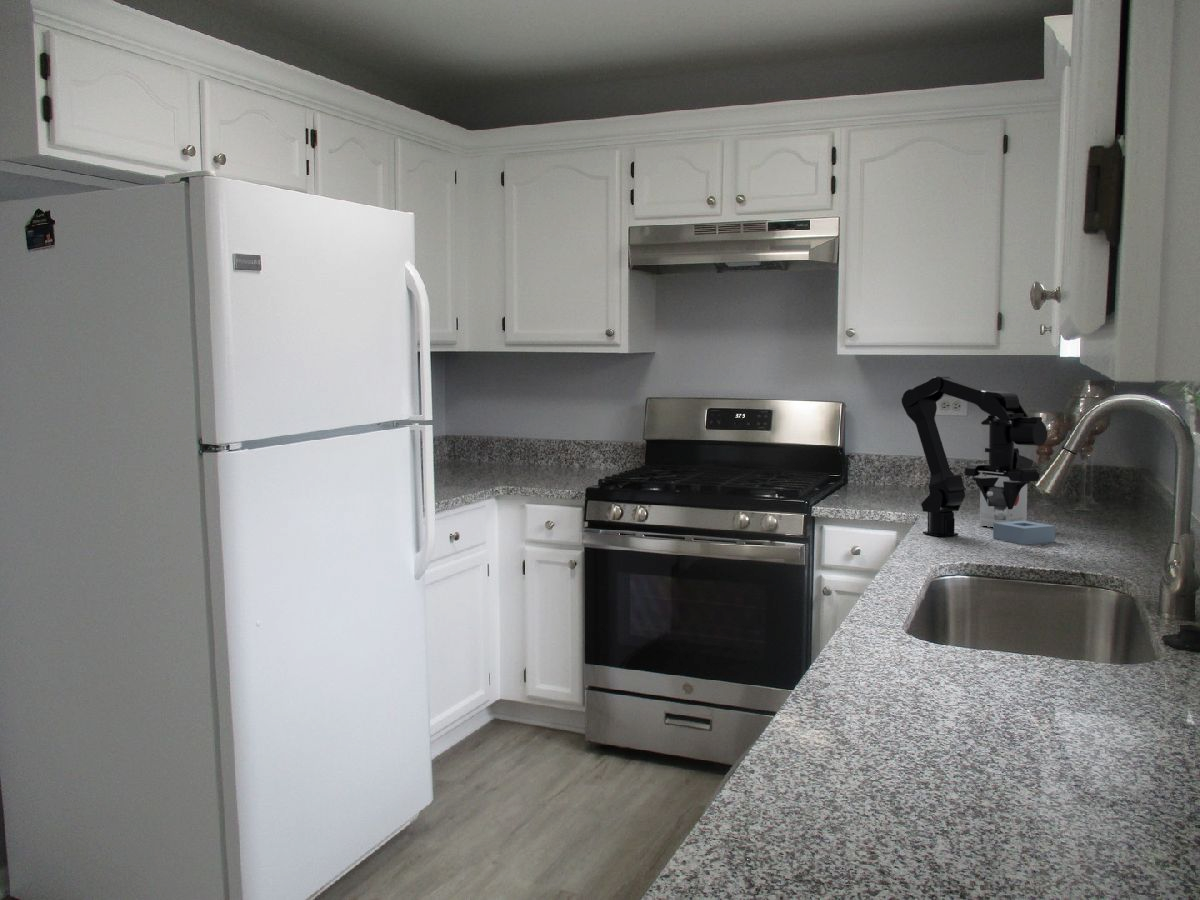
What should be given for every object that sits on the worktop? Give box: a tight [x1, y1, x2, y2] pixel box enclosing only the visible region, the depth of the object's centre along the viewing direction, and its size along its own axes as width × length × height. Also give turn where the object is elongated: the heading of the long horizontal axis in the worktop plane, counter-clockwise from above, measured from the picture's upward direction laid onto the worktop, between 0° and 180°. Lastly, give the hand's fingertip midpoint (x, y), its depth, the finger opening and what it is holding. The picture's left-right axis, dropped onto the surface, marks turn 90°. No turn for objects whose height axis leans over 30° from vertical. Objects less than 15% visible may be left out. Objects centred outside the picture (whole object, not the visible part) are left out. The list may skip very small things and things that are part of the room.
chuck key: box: [986, 486, 1007, 520], centre depth 232 cm, size 8×6×8 cm
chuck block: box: [992, 520, 1056, 546], centre depth 238 cm, size 10×10×4 cm
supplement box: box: [979, 475, 1028, 528], centre depth 260 cm, size 9×9×15 cm
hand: (1000, 507), depth 232 cm, fingers closed on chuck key, 6 cm apart
